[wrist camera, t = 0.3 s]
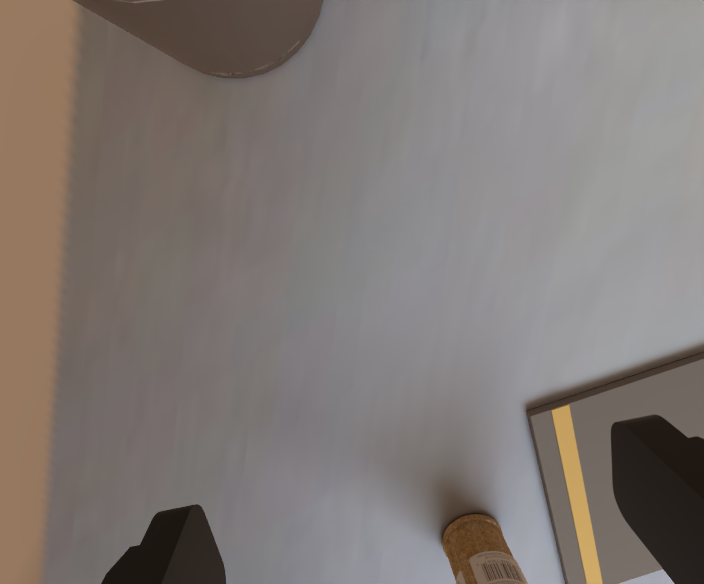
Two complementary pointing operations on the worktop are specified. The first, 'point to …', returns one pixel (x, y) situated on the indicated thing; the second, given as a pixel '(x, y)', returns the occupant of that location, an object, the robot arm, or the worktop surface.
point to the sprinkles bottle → (480, 552)
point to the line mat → (606, 466)
